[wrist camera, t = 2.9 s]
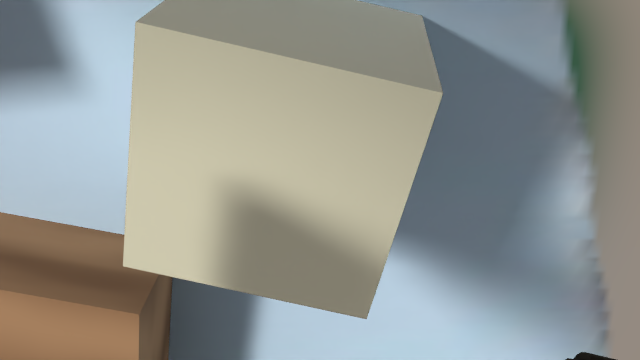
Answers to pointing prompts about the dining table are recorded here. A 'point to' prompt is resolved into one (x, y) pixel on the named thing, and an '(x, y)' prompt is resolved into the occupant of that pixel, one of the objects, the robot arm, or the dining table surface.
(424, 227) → the dining table surface
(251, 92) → the cream block
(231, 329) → the dining table surface
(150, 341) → the walnut block
